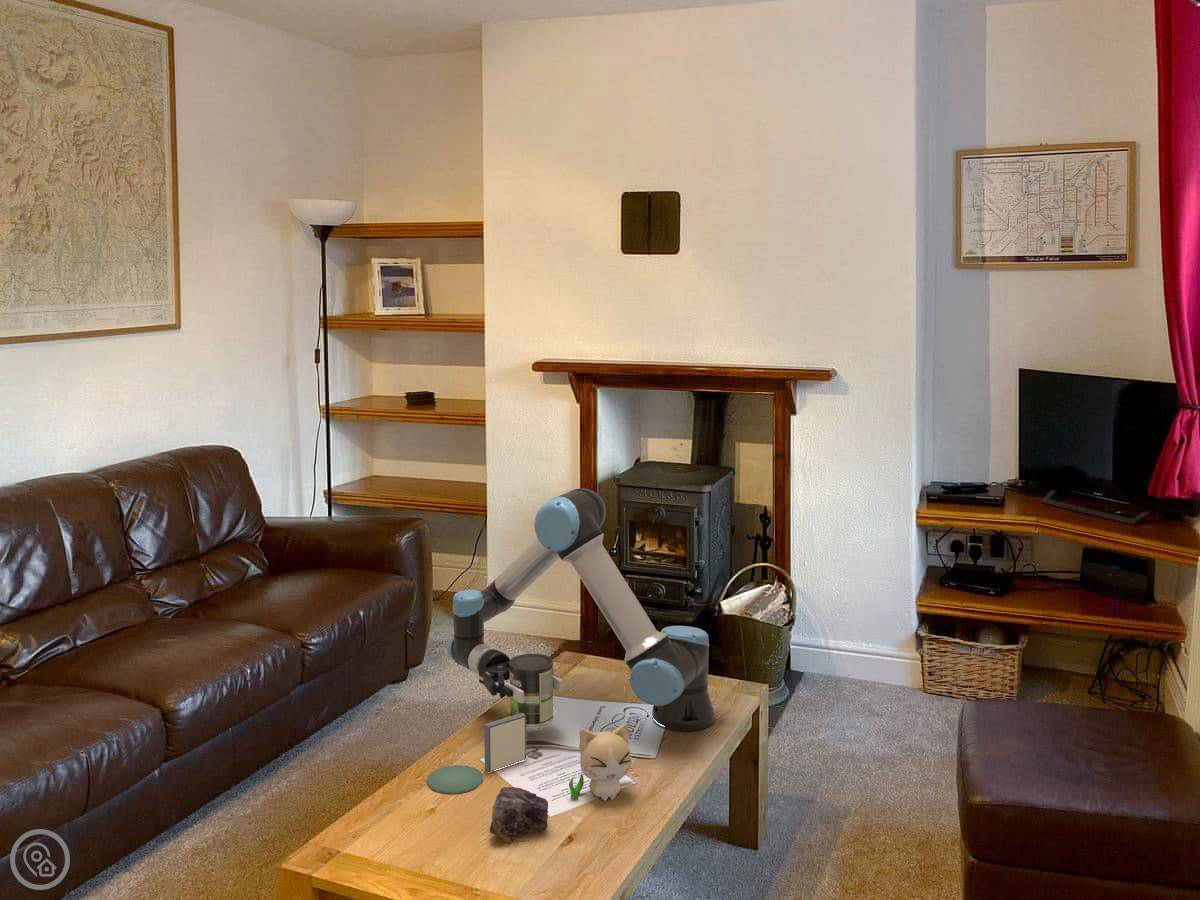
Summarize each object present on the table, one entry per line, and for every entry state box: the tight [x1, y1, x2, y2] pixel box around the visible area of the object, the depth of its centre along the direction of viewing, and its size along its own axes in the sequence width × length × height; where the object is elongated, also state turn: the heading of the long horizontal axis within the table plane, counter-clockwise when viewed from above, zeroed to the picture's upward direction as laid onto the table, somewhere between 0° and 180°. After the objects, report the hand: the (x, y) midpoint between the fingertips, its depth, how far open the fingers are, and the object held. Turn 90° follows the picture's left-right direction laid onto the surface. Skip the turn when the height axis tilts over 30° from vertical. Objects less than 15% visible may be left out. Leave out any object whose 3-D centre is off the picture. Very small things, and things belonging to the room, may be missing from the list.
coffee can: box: [509, 653, 554, 728], centre depth 261 cm, size 10×10×14 cm
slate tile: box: [483, 713, 527, 773], centre depth 249 cm, size 2×10×11 cm, turn 128°
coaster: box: [426, 764, 484, 795], centre depth 243 cm, size 12×12×1 cm
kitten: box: [568, 722, 633, 802], centre depth 236 cm, size 15×10×15 cm, turn 106°
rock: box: [489, 786, 549, 843], centre depth 222 cm, size 12×9×10 cm
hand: (542, 691), depth 257 cm, fingers closed on coffee can, 10 cm apart
